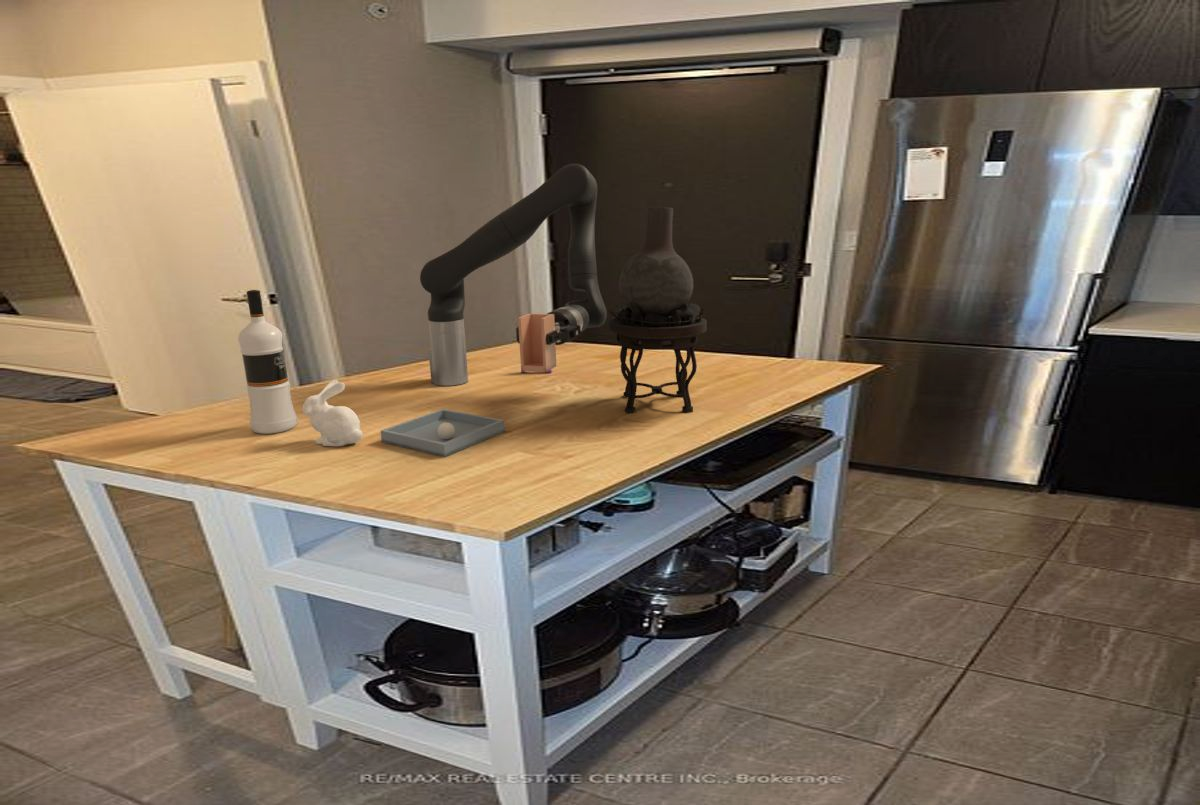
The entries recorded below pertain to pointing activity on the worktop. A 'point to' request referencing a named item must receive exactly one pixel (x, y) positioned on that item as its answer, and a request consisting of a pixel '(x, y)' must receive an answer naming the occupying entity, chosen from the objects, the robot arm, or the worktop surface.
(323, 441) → the rabbit
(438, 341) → the robot arm
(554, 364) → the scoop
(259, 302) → the vodka
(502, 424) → the tray
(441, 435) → the ball
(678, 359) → the brazier
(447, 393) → the worktop surface
